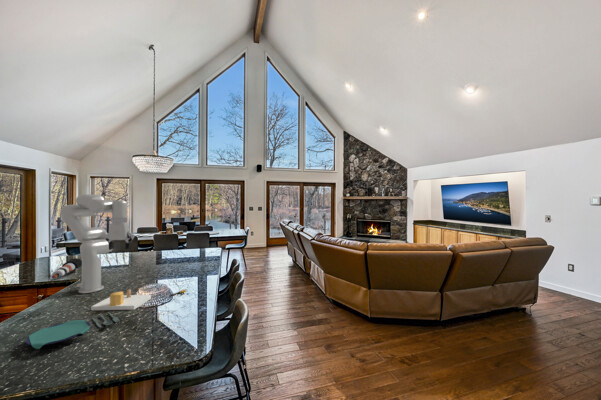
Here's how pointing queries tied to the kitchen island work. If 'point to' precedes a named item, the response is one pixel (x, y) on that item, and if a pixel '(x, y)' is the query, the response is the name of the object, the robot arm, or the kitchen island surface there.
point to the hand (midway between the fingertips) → (119, 249)
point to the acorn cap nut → (116, 298)
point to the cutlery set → (63, 331)
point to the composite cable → (179, 292)
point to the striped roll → (67, 267)
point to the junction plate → (129, 303)
